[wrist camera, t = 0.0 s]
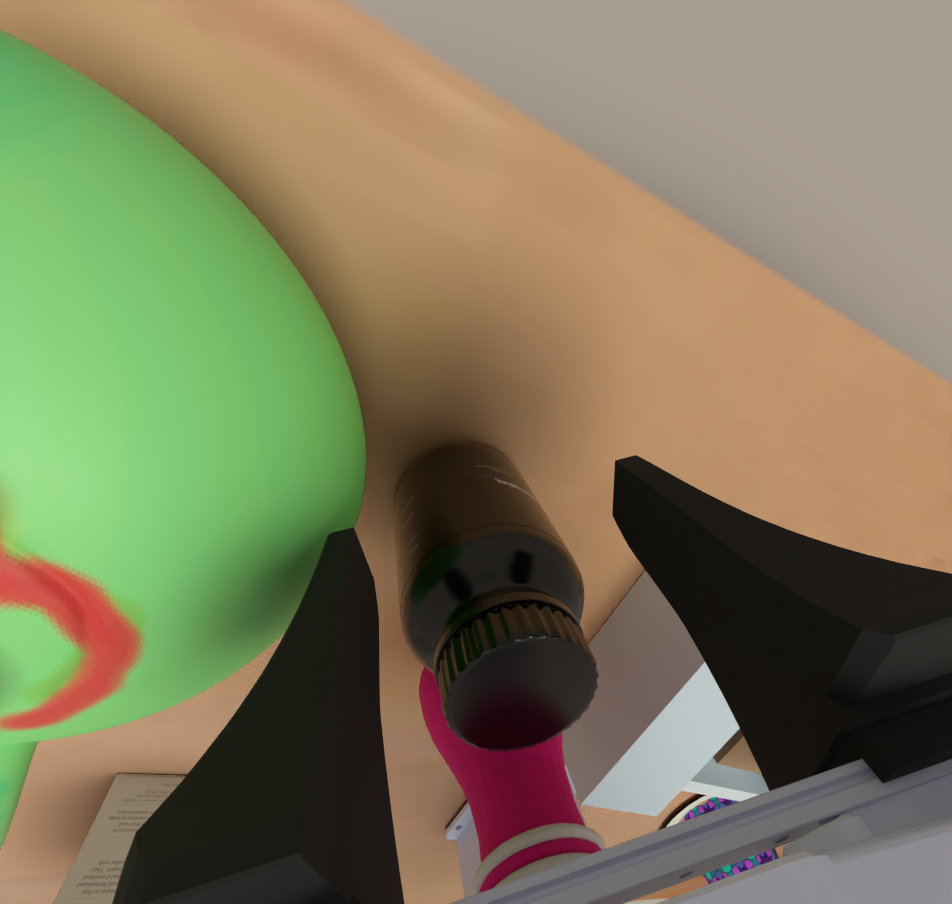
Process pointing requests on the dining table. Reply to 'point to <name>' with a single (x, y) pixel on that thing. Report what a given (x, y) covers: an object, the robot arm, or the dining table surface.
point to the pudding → (732, 868)
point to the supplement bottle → (490, 600)
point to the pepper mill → (512, 801)
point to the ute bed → (652, 715)
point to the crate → (737, 754)
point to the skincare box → (113, 837)
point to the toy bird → (146, 419)
